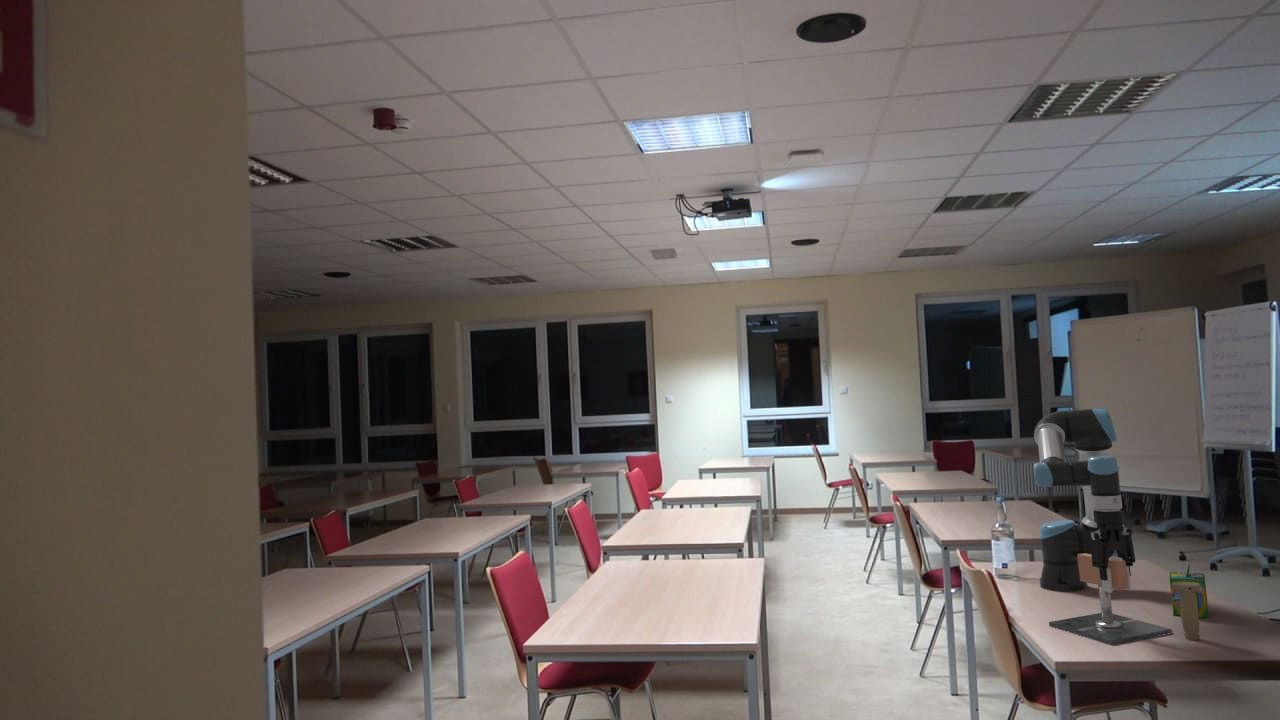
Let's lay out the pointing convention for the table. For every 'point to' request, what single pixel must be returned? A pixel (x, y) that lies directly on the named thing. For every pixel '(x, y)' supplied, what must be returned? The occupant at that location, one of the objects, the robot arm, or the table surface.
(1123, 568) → the pink plank with tab
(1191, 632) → the handle
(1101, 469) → the robot arm
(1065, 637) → the table surface
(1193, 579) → the chalk box
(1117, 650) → the table surface
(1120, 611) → the table surface
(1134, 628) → the post stand
